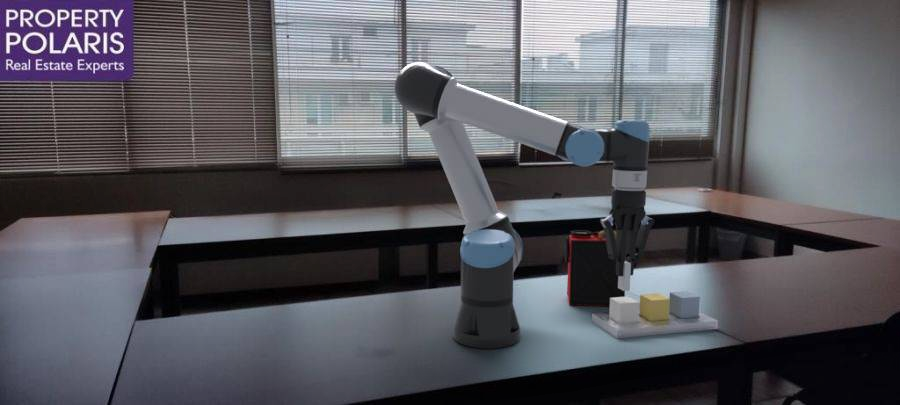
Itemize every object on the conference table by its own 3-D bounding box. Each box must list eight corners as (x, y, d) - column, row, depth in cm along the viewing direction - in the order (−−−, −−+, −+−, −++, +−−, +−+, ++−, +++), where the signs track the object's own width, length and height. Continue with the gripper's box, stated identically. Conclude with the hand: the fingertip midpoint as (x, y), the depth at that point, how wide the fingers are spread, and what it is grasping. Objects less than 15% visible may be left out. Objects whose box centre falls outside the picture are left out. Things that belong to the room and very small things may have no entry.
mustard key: (650, 321, 139) (651, 300, 139) (639, 314, 144) (640, 294, 143) (668, 319, 140) (669, 299, 140) (657, 313, 145) (658, 293, 144)
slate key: (680, 318, 141) (681, 298, 141) (668, 312, 146) (669, 292, 145) (698, 317, 142) (699, 296, 142) (686, 310, 147) (687, 291, 146)
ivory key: (619, 324, 137) (620, 303, 137) (609, 318, 142) (610, 297, 141) (638, 323, 139) (639, 302, 138) (627, 316, 143) (628, 296, 143)
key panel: (617, 338, 134) (617, 329, 133) (591, 321, 145) (592, 313, 145) (717, 329, 140) (718, 320, 139) (685, 313, 151) (686, 305, 151)
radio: (619, 296, 166) (622, 225, 163) (626, 307, 156) (629, 232, 153) (561, 295, 167) (563, 224, 165) (565, 306, 157) (567, 231, 155)
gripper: (611, 191, 131) (606, 295, 134) (663, 190, 134) (657, 292, 137) (595, 187, 138) (590, 286, 141) (645, 186, 141) (639, 283, 145)
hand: (623, 289), depth 139 cm, fingers closed
